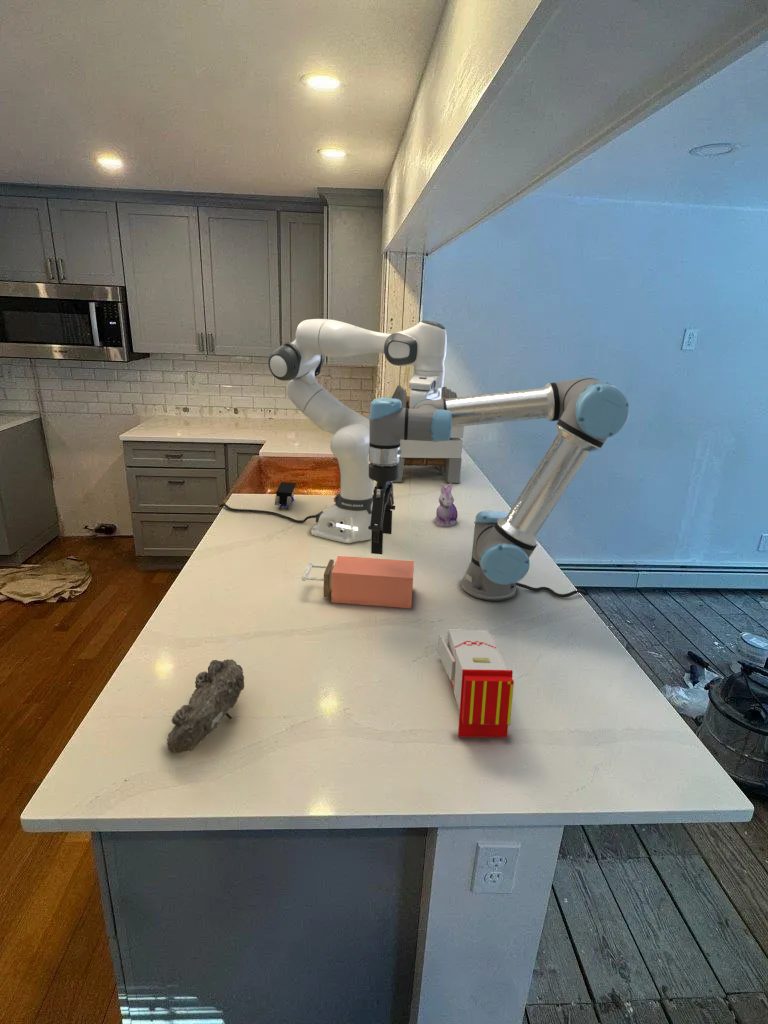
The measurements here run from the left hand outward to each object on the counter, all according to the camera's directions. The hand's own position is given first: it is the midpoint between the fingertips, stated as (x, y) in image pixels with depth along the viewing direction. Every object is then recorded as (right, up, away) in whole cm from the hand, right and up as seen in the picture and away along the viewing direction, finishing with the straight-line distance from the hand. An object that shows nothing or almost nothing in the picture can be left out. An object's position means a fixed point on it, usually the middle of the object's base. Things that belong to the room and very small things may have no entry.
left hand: (424, 427), depth 169 cm
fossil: (-45, -64, -61) cm, 99 cm away
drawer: (-21, -47, -12) cm, 53 cm away
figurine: (+11, -29, +44) cm, 54 cm away
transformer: (+5, -6, +106) cm, 107 cm away
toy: (+6, -63, -50) cm, 80 cm away
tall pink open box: (-15, -48, -12) cm, 52 cm away
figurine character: (-51, -22, +54) cm, 78 cm away
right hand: (-13, -33, -23) cm, 42 cm away
